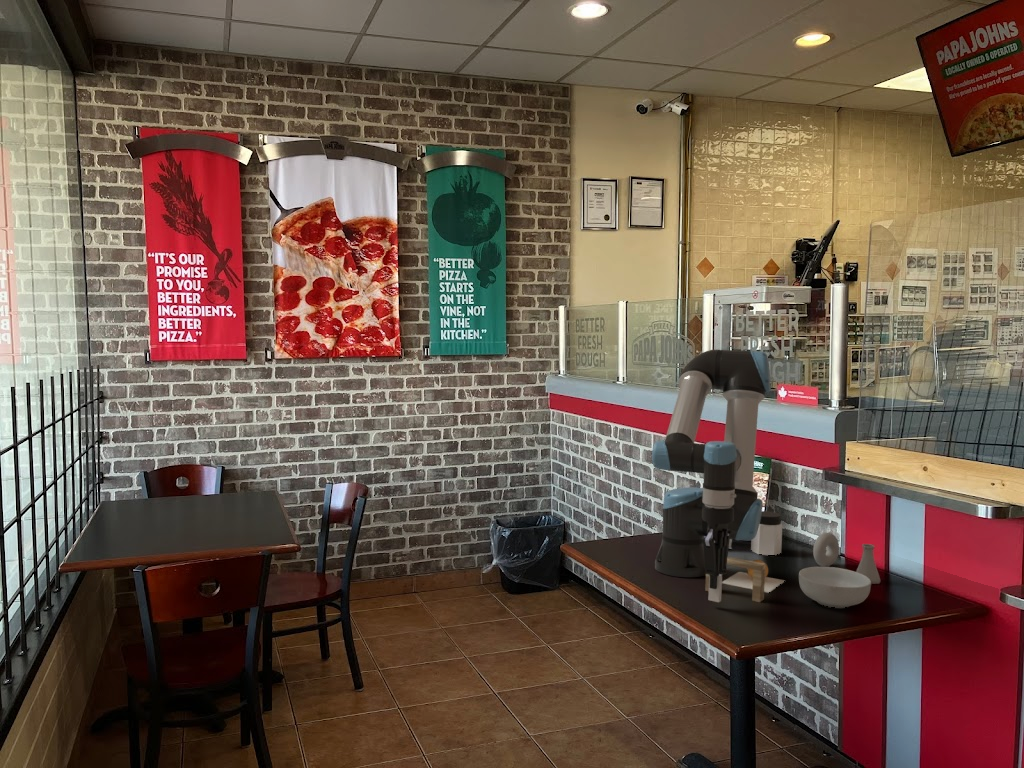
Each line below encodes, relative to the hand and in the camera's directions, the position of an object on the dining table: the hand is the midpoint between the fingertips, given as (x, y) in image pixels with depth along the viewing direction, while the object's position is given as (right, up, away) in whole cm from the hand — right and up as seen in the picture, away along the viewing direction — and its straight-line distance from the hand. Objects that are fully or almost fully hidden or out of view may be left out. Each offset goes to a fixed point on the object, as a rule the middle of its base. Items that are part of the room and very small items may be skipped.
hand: (714, 600), depth 203 cm
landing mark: (+16, -1, +22) cm, 27 cm away
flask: (+48, -2, +26) cm, 55 cm away
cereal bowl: (+31, -3, +6) cm, 32 cm away
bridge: (+8, -1, +11) cm, 13 cm away
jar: (+29, +1, +53) cm, 61 cm away
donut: (+42, 0, +39) cm, 57 cm away
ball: (+18, +2, +24) cm, 30 cm away
